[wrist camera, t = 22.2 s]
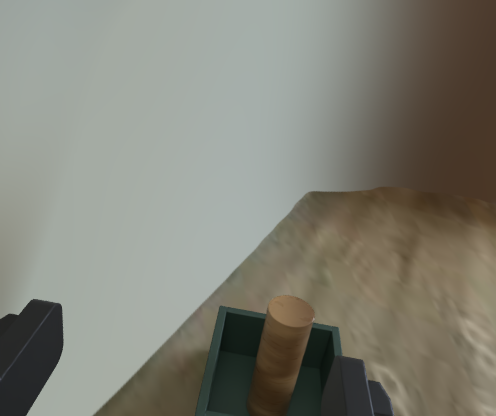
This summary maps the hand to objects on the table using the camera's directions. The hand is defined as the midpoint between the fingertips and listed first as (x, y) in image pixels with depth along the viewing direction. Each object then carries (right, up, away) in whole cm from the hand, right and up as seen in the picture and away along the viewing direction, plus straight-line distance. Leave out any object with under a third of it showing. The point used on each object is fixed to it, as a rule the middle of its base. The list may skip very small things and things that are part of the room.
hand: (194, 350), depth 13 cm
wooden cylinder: (+3, -15, +31) cm, 34 cm away
